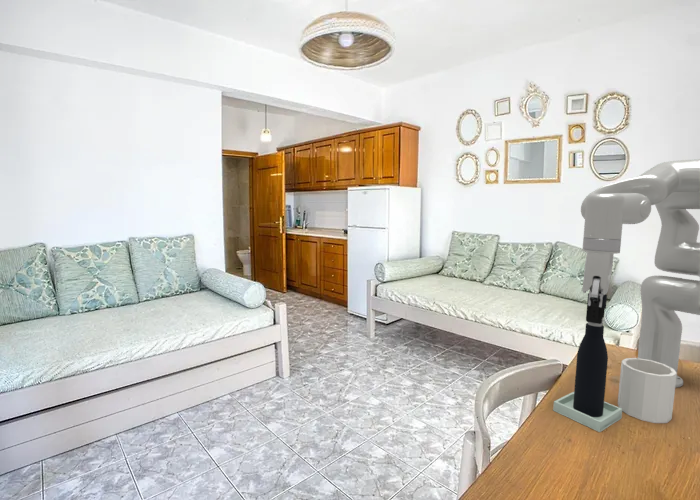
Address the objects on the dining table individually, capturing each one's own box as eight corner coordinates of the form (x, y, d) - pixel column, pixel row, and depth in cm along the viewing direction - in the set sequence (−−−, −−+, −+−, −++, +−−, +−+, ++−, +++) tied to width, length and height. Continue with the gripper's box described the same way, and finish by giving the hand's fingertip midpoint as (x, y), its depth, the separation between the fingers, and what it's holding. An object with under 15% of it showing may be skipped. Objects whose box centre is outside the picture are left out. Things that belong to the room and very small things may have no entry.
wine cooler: (628, 396, 104) (633, 355, 103) (677, 414, 95) (682, 369, 94) (610, 407, 98) (614, 363, 97) (660, 427, 90) (665, 379, 88)
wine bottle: (607, 418, 92) (618, 297, 88) (578, 415, 93) (588, 296, 89) (596, 405, 98) (606, 291, 94) (569, 402, 99) (577, 290, 95)
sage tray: (575, 398, 103) (576, 390, 102) (621, 418, 94) (622, 408, 93) (553, 410, 97) (553, 401, 97) (599, 432, 88) (600, 422, 87)
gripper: (586, 241, 99) (581, 309, 101) (578, 247, 86) (572, 325, 88) (622, 243, 94) (615, 314, 97) (618, 250, 81) (611, 332, 83)
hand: (595, 318), depth 92 cm, fingers open, 5 cm apart
